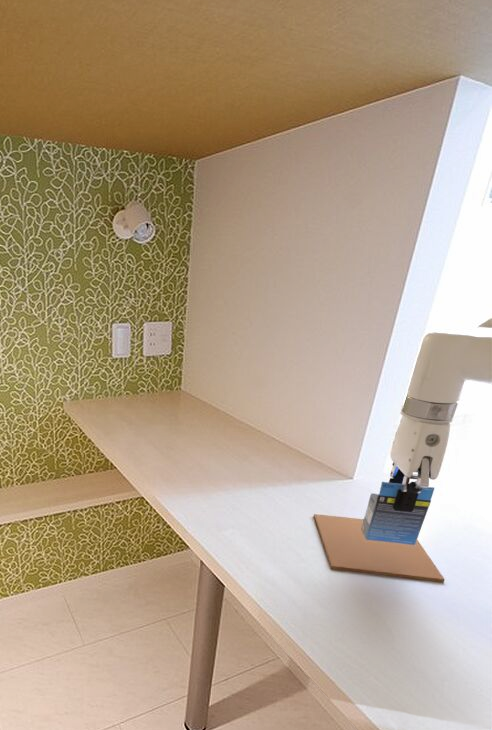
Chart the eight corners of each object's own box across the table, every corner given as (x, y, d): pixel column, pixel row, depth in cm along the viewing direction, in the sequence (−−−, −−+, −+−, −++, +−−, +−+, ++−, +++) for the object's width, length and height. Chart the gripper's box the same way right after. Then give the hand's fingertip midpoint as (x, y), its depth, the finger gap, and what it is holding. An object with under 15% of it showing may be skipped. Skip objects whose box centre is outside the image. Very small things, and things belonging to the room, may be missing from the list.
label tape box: (408, 535, 84) (427, 478, 79) (416, 546, 81) (436, 487, 76) (360, 529, 86) (375, 473, 81) (365, 540, 82) (381, 482, 77)
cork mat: (405, 525, 99) (406, 523, 98) (443, 582, 81) (444, 579, 80) (313, 516, 102) (314, 513, 101) (331, 568, 84) (331, 565, 84)
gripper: (478, 426, 64) (439, 530, 72) (432, 396, 79) (404, 486, 87) (423, 422, 65) (391, 525, 73) (387, 394, 80) (364, 482, 88)
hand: (398, 503), depth 80 cm, fingers closed on label tape box, 3 cm apart
